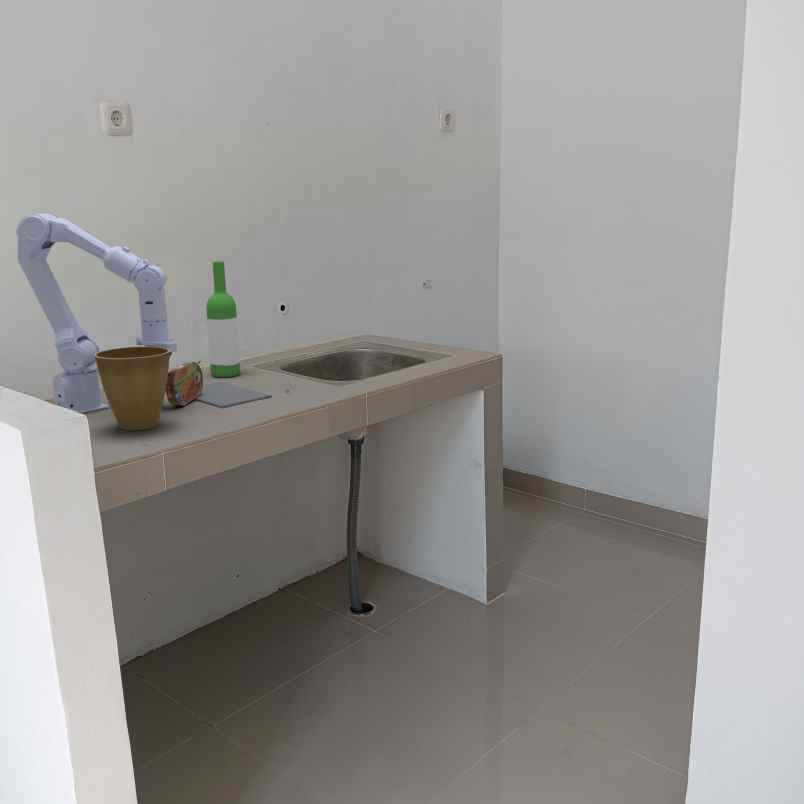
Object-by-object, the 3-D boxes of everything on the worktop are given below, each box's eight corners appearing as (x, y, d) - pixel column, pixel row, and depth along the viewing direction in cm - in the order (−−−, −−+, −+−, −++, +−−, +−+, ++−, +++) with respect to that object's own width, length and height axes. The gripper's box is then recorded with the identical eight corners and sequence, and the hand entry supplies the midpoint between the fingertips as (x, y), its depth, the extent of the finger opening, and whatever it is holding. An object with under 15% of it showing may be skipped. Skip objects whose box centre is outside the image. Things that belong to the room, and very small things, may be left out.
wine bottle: (217, 371, 234) (209, 260, 227) (244, 372, 233) (238, 260, 225) (206, 378, 226) (198, 262, 219) (234, 378, 225) (227, 262, 218)
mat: (222, 407, 196) (221, 406, 195) (171, 392, 211) (170, 391, 211) (271, 396, 205) (271, 395, 205) (219, 383, 220) (219, 381, 220)
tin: (178, 410, 194) (173, 374, 192) (165, 410, 195) (160, 374, 192) (205, 392, 208) (201, 358, 206) (193, 392, 209) (189, 358, 206)
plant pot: (184, 429, 179) (178, 353, 175) (110, 440, 172) (102, 361, 168) (164, 413, 191) (158, 342, 188) (95, 423, 184) (87, 349, 180)
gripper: (187, 321, 190) (191, 381, 193) (153, 315, 200) (158, 372, 203) (158, 325, 185) (163, 386, 188) (125, 318, 195) (130, 377, 198)
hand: (159, 379), depth 195 cm, fingers closed
